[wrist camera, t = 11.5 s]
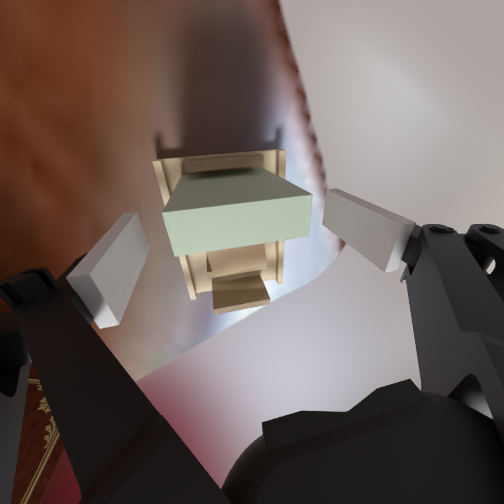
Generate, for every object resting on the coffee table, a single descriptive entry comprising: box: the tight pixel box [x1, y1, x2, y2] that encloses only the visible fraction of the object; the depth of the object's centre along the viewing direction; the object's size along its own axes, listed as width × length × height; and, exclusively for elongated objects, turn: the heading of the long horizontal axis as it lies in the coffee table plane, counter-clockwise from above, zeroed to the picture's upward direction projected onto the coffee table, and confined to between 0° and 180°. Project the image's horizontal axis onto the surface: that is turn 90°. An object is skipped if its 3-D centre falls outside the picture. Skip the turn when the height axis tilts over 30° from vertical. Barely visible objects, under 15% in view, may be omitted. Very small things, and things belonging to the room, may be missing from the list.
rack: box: [153, 149, 286, 315], centre depth 27 cm, size 20×15×7 cm
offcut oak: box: [206, 243, 267, 278], centre depth 25 cm, size 4×7×3 cm
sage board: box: [162, 167, 313, 257], centre depth 20 cm, size 3×10×14 cm, turn 93°
